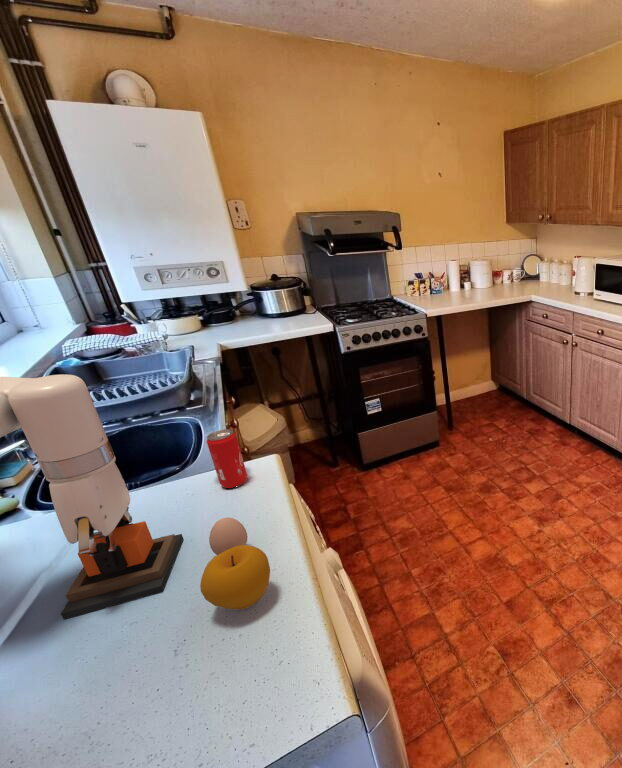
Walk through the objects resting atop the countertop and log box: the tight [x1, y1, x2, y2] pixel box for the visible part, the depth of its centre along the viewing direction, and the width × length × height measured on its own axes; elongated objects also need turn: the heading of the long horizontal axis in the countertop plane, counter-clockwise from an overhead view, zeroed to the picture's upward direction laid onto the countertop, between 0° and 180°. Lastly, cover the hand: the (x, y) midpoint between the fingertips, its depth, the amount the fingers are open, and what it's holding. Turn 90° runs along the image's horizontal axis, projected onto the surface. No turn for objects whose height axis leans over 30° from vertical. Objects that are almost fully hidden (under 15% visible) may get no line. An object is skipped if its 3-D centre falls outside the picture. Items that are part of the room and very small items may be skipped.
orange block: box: [77, 520, 154, 577], centre depth 69 cm, size 7×5×4 cm
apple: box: [200, 544, 271, 611], centre depth 64 cm, size 8×8×9 cm
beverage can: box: [206, 428, 248, 489], centre depth 93 cm, size 5×5×12 cm
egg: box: [208, 517, 248, 556], centre depth 73 cm, size 5×5×7 cm
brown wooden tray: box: [60, 533, 184, 620], centre depth 71 cm, size 12×13×3 cm
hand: (121, 557), depth 70 cm, fingers closed on orange block, 5 cm apart
